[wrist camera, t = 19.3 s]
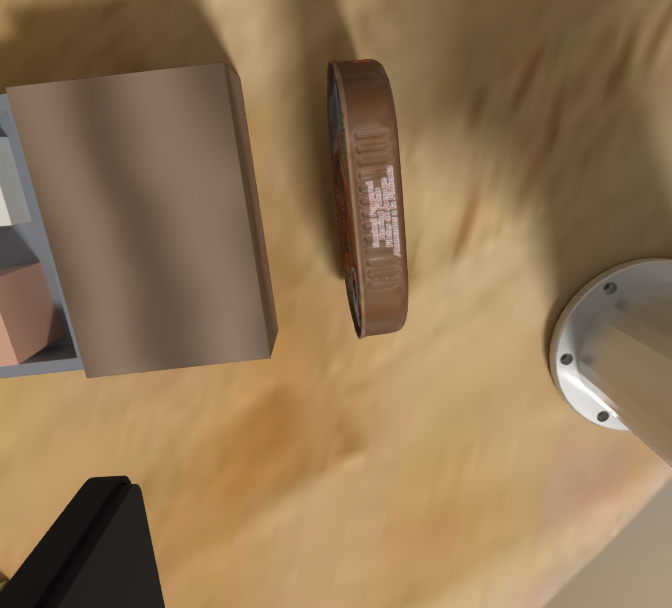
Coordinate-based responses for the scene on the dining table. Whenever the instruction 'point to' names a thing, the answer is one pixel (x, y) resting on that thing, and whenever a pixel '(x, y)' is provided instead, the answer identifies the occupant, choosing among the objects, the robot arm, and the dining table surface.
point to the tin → (368, 194)
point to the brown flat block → (151, 216)
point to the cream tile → (11, 189)
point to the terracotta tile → (25, 313)
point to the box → (32, 247)
